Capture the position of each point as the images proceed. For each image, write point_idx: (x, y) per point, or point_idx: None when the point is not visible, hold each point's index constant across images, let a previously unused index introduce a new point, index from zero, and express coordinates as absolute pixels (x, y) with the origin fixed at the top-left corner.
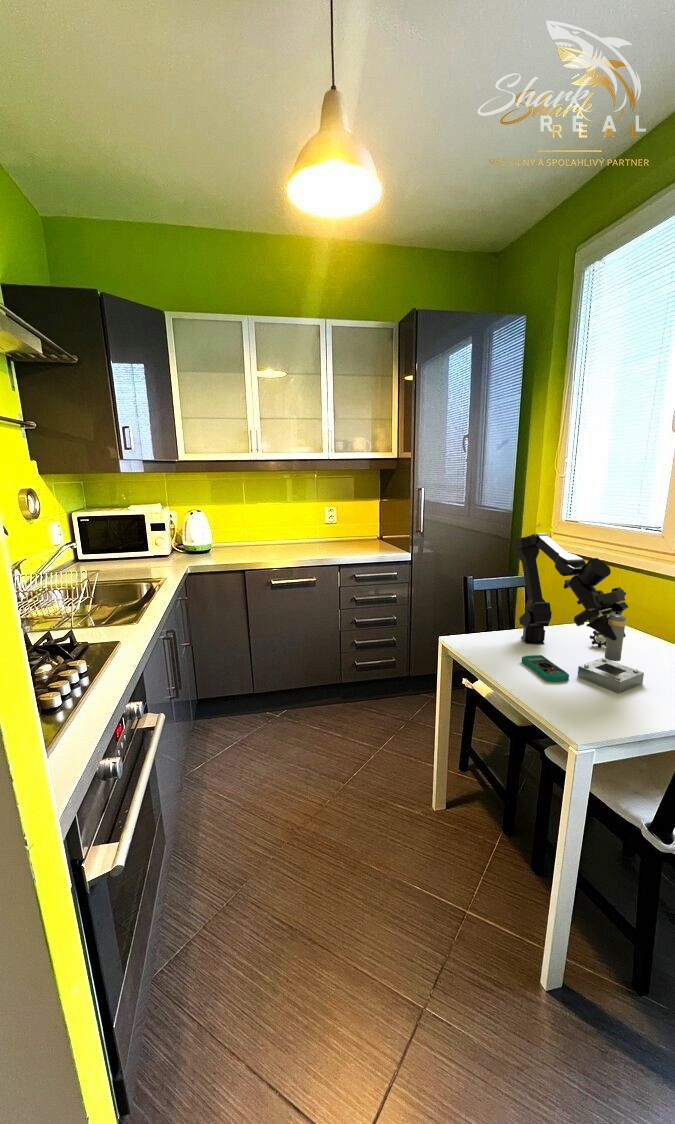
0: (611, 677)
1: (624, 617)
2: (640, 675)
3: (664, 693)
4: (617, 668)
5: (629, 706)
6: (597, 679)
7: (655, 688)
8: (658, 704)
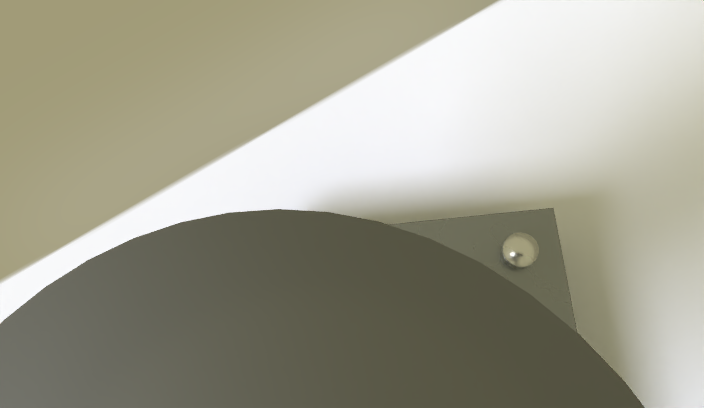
0: (543, 287)
1: (118, 317)
2: None
3: (274, 132)
4: None
5: (614, 108)
6: None
7: (254, 188)
8: (434, 69)
